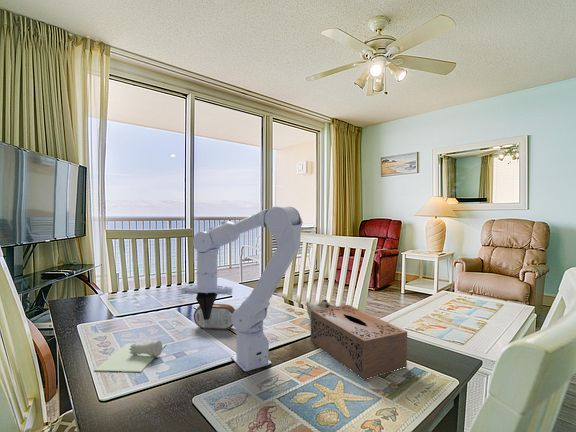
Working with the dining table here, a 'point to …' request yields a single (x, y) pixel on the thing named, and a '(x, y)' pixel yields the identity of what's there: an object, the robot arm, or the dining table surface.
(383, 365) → the tissue box cover
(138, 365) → the mat
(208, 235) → the robot arm
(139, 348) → the rook chess piece
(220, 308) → the tin
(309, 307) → the ceramic sculpture
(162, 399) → the dining table surface
